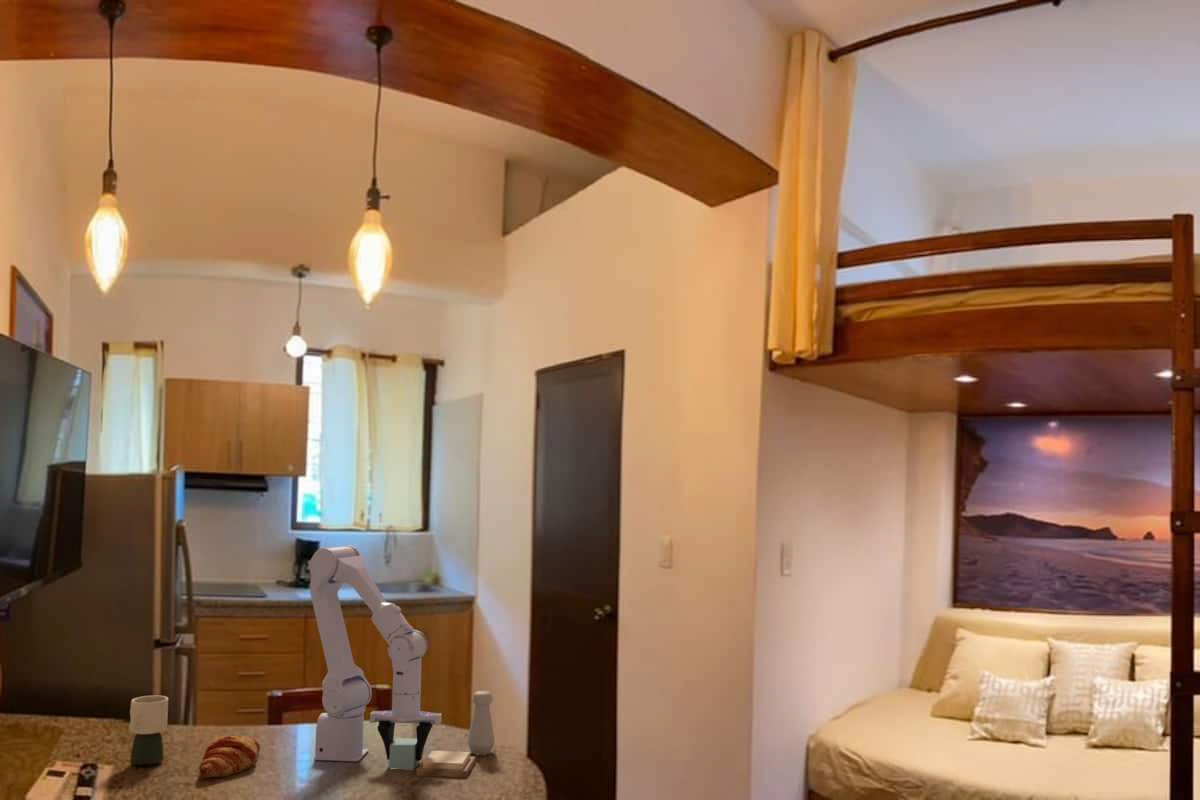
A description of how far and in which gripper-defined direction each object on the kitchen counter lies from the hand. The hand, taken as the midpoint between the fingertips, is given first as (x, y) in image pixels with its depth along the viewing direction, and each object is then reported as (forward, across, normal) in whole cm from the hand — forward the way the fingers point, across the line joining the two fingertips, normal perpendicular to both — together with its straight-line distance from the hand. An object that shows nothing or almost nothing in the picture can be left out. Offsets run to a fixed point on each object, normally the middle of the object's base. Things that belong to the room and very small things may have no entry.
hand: (404, 758), depth 206 cm
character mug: (+2, -52, -5) cm, 52 cm away
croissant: (+2, -34, -5) cm, 35 cm away
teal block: (+2, 0, 0) cm, 2 cm away
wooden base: (+1, +9, -1) cm, 9 cm away
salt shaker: (+2, +14, +11) cm, 18 cm away
